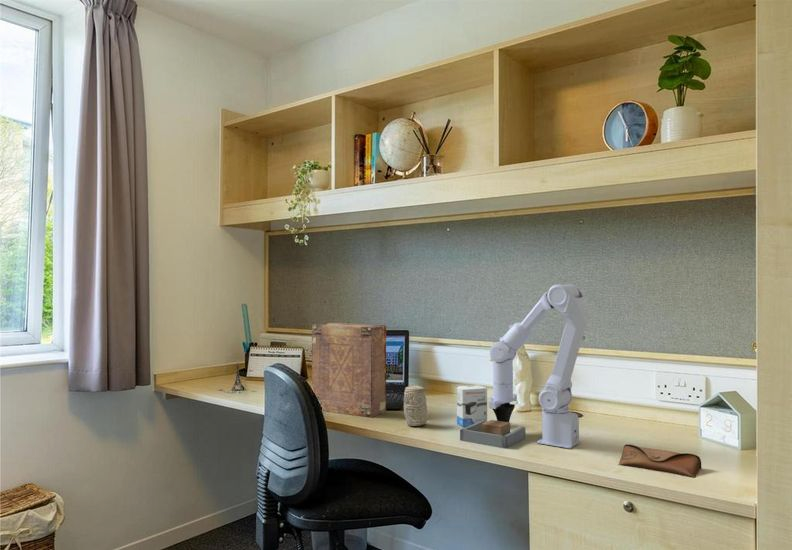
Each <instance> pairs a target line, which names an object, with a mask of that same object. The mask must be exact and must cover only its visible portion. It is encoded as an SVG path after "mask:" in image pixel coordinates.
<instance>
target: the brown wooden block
mask: <svg viewBox="0 0 792 550" xmlns="http://www.w3.org/2000/svg"><path fill="white" fill-rule="evenodd" d="M482 432H484V433H490V434H496V435H502V436H504V435H506V434H508V433H510V432H511V422H510V421H509V422H503V421H497V419H489V420H487V422H485V423H483V424H482Z"/></svg>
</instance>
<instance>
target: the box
mask: <svg viewBox="0 0 792 550" xmlns="http://www.w3.org/2000/svg"><path fill="white" fill-rule="evenodd" d="M483 423H485V421H480V422H477V423H475V424H472V425H470V426H467V427H462V428H460V429H459V441H463V442H468V443H469V442H470V443H474V444H479V445H486V446H489V447H490V446H491V447H497V448H503V449H507V448H509V447H511V446H513V445H515V444H517V443H518V442H520V441H522V440H524V439H525V438H526V427H525V426H520V427H519V428H516V429H515V430H513V431H510V433H508V434H506V435H504V436H502V435H496V434H490V433H484V432H482V424H483Z"/></svg>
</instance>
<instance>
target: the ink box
mask: <svg viewBox="0 0 792 550" xmlns="http://www.w3.org/2000/svg"><path fill="white" fill-rule="evenodd" d="M480 421H485V422H487V421H488V388H487V387H485V386H483V385H459V386H458V387H456V424H458V426H461V427H462V428H465V427H467V426H470V425H472V424H475V423H477V422H480Z"/></svg>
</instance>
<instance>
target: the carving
mask: <svg viewBox="0 0 792 550" xmlns="http://www.w3.org/2000/svg"><path fill="white" fill-rule="evenodd" d="M403 394H404V395H403V412H404V418H405V421H406V425H407V426H409V427H419V426H423V425H425V424H426V423H427V421H428V405H427V395H426V389H425V387H423V386H420V385H410V386H406V387H405V388H404V392H403Z"/></svg>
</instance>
